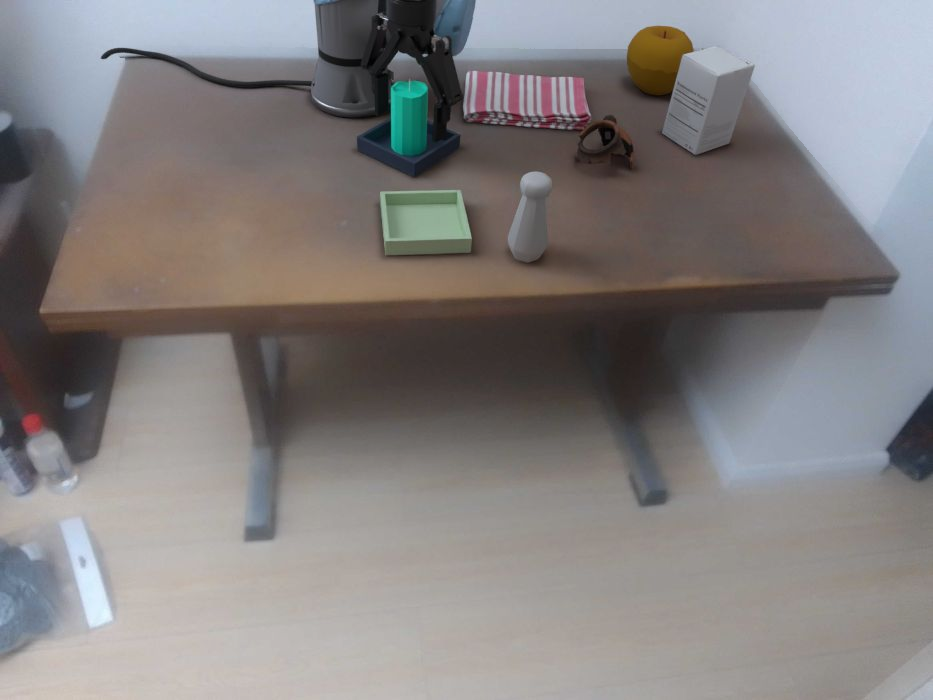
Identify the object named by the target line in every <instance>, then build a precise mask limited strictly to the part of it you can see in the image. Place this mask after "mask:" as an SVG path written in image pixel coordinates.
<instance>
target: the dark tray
mask: <svg viewBox="0 0 933 700" xmlns="http://www.w3.org/2000/svg"><path fill="white" fill-rule="evenodd" d="M461 136H462V134H460V133H458V132H455V131H453V130H451V129H449V128H447V130H446V137H444V138H443V139H441V140H440V141H438V142H434V141H433V121H430V120H428V119H427V142H426V150H425V151H424V152H422V153H421V154H418V155H413V156H409V155H401V154H399V153H397V152H395V151H394V150H393V149H392V147H391V117H390V118H387V119H386V120H384V121H382V122H380V123H379V124H377V125H375V126H373V127H371V128H369V129H368V130H366V131H365V132H363V133H361V134H359V135H358V136H356V147H357V148H356V149H357V151H358V152H360V153H362V154H364V155H366V156H368V157H370V158H372V159H374V160H376V161H379V162H381V163H383V164H385V165H387V166H388V167H392V168H393V169H395V170H398V171H400V172H402V173H404V174H406V175H408V176H411V177H412V178H416V177H418V176H419V175H421V174H423V173H424V172H425V171H427V170H428V169H430V168H431V167H433V166H435V165H436V164H437V163H439V162H441V161H442V160H444V159H445V158H447V157H449V156H450V155H452V154H453V153H454V152H456V151H458V150H459V149H460V148H461V138H462V137H461Z"/></svg>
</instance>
